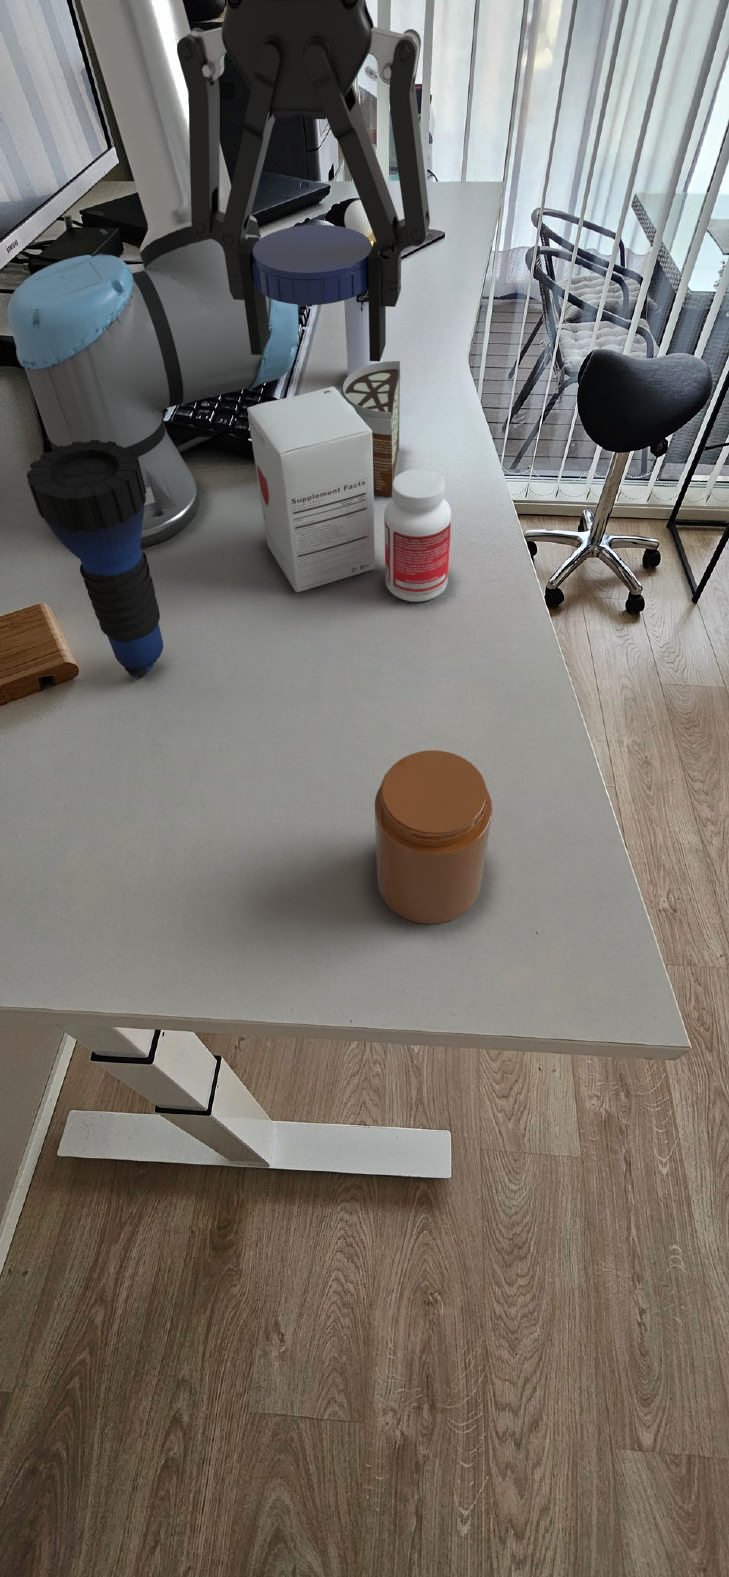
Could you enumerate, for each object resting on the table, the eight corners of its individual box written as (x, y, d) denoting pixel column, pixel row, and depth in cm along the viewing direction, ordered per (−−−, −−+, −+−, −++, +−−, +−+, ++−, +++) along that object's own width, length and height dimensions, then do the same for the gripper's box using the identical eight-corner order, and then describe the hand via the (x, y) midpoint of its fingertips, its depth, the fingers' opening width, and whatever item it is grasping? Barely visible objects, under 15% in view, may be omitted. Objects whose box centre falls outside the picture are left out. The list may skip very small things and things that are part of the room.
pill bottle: (460, 589, 80) (467, 487, 71) (409, 612, 78) (410, 510, 69) (422, 557, 83) (426, 456, 74) (373, 579, 81) (370, 478, 72)
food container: (348, 444, 97) (344, 357, 89) (400, 445, 97) (400, 358, 89) (336, 502, 90) (330, 414, 82) (391, 504, 89) (391, 415, 81)
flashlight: (197, 638, 77) (145, 436, 61) (187, 699, 72) (129, 495, 56) (112, 641, 77) (39, 440, 61) (97, 702, 72) (13, 500, 56)
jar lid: (289, 248, 58) (287, 218, 57) (392, 265, 56) (392, 234, 55) (232, 294, 54) (228, 262, 53) (341, 314, 52) (340, 281, 50)
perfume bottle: (335, 379, 107) (324, 199, 92) (371, 366, 109) (367, 188, 93) (358, 396, 104) (351, 213, 89) (395, 383, 106) (395, 202, 90)
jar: (380, 833, 62) (377, 742, 54) (480, 837, 62) (493, 746, 53) (374, 921, 58) (370, 836, 49) (481, 926, 57) (496, 842, 49)
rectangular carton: (264, 545, 85) (243, 404, 73) (343, 523, 87) (335, 382, 75) (294, 595, 80) (276, 452, 68) (377, 570, 82) (374, 427, 70)
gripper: (500, -133, 42) (466, 333, 60) (116, -127, 44) (195, 319, 62) (490, -114, 37) (457, 383, 55) (63, -108, 40) (165, 366, 58)
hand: (318, 349), depth 59 cm, fingers closed on jar lid, 8 cm apart
